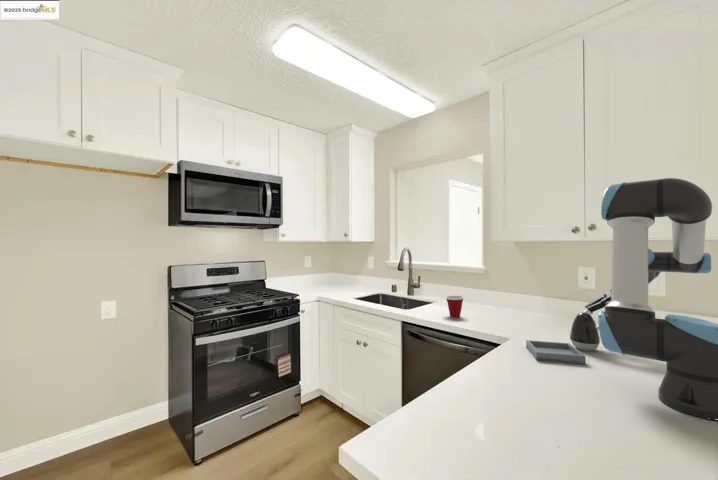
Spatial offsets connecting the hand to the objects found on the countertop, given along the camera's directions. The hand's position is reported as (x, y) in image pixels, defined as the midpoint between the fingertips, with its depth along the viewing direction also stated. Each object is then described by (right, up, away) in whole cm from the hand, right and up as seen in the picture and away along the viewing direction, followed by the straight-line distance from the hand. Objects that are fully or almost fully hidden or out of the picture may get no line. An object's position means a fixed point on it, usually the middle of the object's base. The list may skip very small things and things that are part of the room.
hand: (587, 325), depth 133 cm
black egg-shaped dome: (-2, -10, -1) cm, 10 cm away
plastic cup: (-37, -11, +61) cm, 73 cm away
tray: (-19, -9, -8) cm, 23 cm away
